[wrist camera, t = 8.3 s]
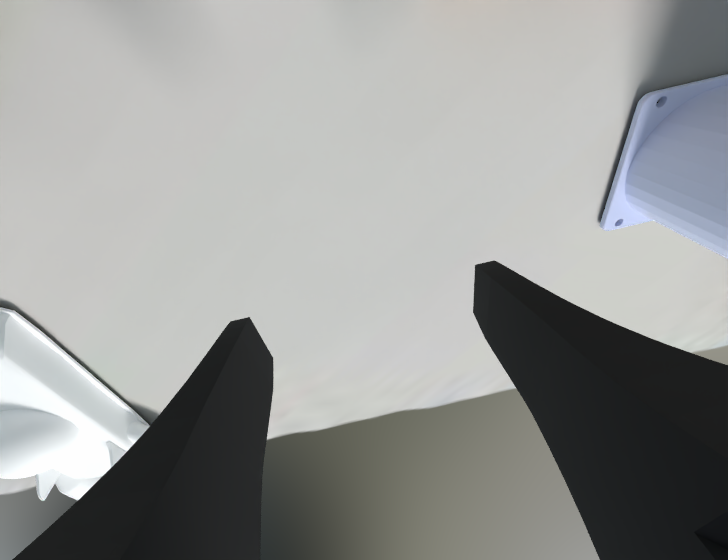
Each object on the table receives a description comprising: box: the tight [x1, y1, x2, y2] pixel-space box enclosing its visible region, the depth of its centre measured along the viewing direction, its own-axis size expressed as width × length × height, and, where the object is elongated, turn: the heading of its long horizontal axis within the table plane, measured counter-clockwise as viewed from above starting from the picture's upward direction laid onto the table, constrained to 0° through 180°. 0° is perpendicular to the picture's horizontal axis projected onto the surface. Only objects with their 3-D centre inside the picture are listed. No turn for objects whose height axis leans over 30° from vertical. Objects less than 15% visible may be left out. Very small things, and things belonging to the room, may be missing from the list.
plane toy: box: [0, 307, 150, 501], centre depth 22 cm, size 10×20×6 cm, turn 12°
